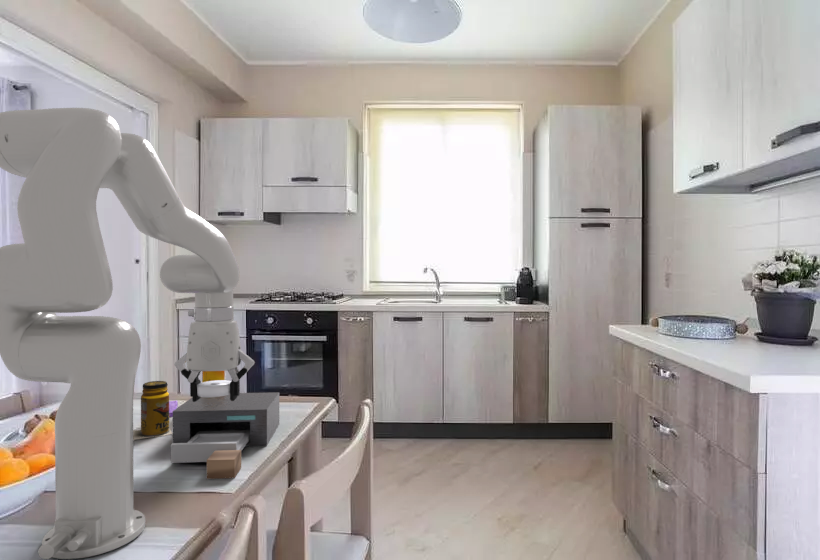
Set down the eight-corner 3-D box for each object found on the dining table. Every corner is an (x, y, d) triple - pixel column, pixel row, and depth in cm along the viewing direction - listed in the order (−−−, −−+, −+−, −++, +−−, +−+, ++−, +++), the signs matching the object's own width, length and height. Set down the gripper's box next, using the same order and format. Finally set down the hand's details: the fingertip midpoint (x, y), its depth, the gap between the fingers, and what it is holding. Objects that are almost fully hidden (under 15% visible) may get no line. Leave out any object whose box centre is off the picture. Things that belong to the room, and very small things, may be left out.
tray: (236, 460, 99) (236, 443, 99) (170, 462, 98) (170, 444, 98) (254, 435, 115) (254, 419, 115) (198, 436, 114) (197, 421, 114)
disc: (227, 396, 103) (227, 386, 103) (192, 397, 102) (192, 387, 102) (236, 388, 110) (236, 379, 110) (203, 389, 109) (203, 380, 109)
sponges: (177, 406, 145) (177, 400, 145) (174, 418, 133) (174, 411, 133) (150, 409, 142) (150, 402, 142) (144, 421, 131) (144, 414, 131)
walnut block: (234, 478, 93) (234, 459, 93) (206, 479, 93) (206, 460, 93) (241, 467, 98) (241, 449, 98) (214, 468, 98) (214, 450, 98)
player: (266, 445, 111) (266, 409, 111) (172, 448, 109) (172, 411, 109) (279, 424, 127) (279, 392, 127) (197, 425, 125) (197, 393, 125)
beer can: (201, 409, 141) (201, 355, 140) (225, 406, 143) (224, 354, 143) (202, 414, 135) (202, 358, 135) (227, 412, 138) (226, 357, 137)
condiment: (173, 434, 119) (172, 383, 119) (132, 441, 114) (131, 388, 114) (168, 426, 125) (168, 378, 125) (129, 432, 120) (129, 382, 120)
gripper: (164, 317, 101) (165, 405, 102) (252, 316, 103) (253, 403, 103) (178, 314, 109) (179, 396, 109) (260, 313, 110) (261, 394, 111)
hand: (215, 399), depth 106 cm, fingers closed on disc, 7 cm apart
